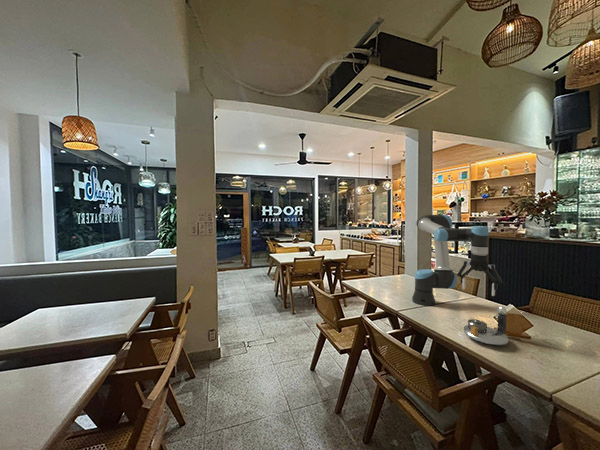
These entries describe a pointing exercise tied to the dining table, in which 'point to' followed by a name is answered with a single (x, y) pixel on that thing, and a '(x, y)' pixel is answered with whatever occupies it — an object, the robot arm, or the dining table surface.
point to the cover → (478, 325)
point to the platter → (487, 335)
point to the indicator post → (501, 319)
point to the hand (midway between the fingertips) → (477, 292)
